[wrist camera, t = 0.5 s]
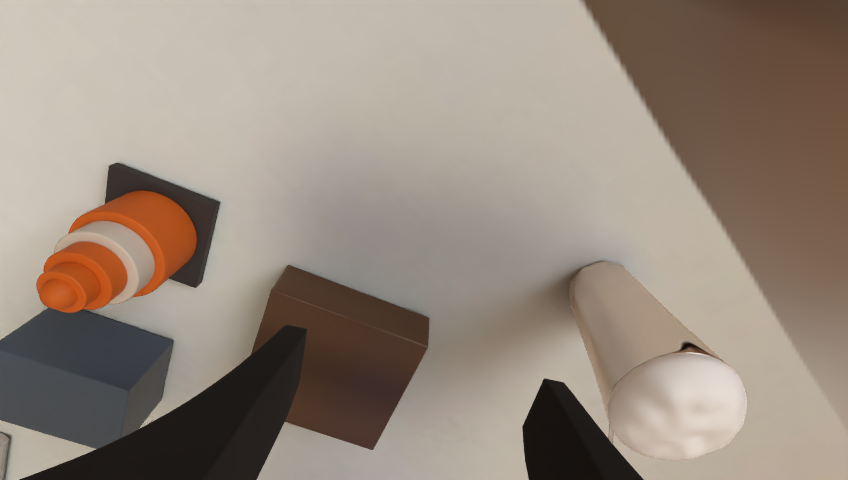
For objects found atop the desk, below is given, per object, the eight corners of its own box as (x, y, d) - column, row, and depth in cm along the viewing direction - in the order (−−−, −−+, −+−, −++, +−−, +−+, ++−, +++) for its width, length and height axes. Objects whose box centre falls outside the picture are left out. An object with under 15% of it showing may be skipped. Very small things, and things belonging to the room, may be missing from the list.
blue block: (161, 399, 27) (117, 455, 23) (53, 365, 26) (-10, 417, 22) (174, 340, 25) (128, 391, 21) (57, 300, 24) (-11, 346, 20)
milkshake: (528, 273, 22) (587, 433, 13) (634, 235, 21) (778, 382, 12) (554, 339, 24) (622, 523, 15) (653, 308, 23) (793, 485, 14)
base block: (378, 416, 27) (373, 450, 24) (252, 373, 26) (234, 405, 23) (429, 317, 24) (428, 347, 21) (288, 264, 23) (271, 289, 20)
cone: (201, 282, 23) (111, 374, 17) (106, 248, 23) (-25, 330, 16) (220, 202, 21) (125, 270, 15) (117, 161, 21) (-28, 216, 14)
